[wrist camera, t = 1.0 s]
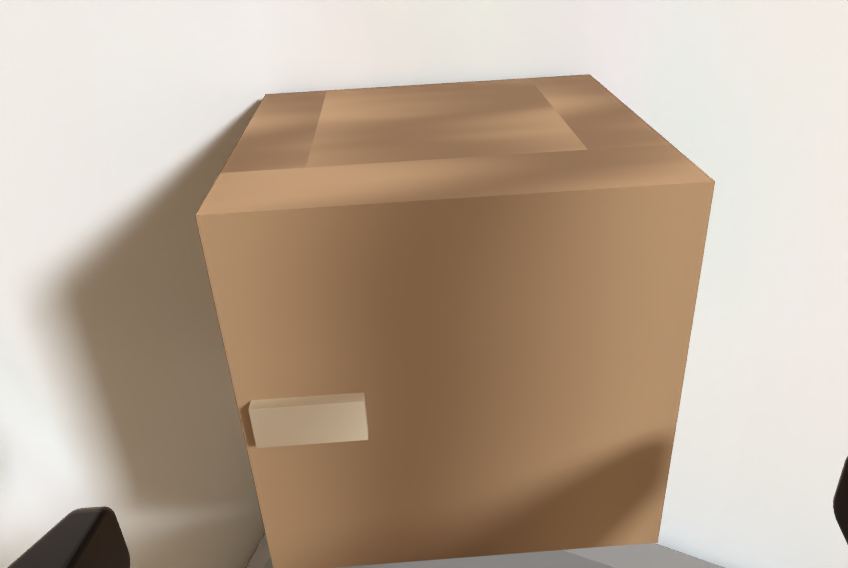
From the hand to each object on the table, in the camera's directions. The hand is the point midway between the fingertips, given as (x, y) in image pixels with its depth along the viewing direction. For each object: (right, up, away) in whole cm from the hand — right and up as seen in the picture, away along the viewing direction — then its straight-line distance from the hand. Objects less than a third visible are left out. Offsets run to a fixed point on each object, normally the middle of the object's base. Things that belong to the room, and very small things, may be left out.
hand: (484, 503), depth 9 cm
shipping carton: (0, +4, +7) cm, 8 cm away
